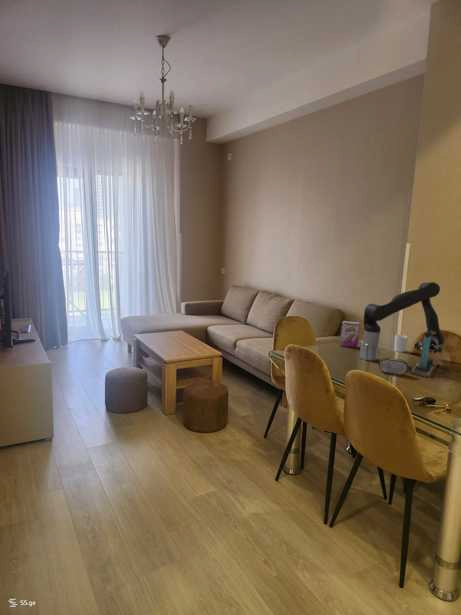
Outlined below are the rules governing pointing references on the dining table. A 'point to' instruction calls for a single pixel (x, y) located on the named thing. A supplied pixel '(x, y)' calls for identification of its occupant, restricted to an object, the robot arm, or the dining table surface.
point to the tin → (393, 366)
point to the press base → (422, 372)
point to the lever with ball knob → (425, 352)
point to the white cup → (400, 343)
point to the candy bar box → (349, 334)
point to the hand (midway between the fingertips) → (426, 349)
